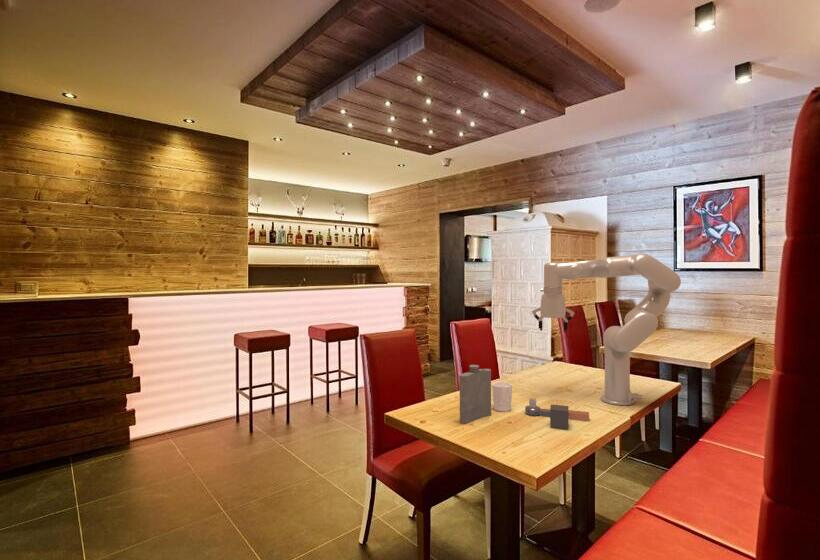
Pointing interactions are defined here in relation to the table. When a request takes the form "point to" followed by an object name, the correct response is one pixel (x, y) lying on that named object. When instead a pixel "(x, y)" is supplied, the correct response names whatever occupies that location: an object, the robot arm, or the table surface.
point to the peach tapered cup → (502, 396)
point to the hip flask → (475, 394)
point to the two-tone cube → (559, 417)
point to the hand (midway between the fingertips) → (552, 330)
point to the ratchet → (536, 411)
